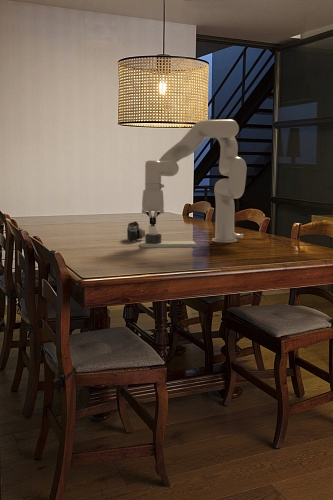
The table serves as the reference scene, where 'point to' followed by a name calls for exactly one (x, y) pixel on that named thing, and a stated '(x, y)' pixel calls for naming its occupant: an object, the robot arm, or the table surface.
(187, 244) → the board
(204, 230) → the table surface
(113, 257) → the table surface
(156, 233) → the cylinder
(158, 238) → the black faceted cup
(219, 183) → the robot arm
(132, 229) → the camera
